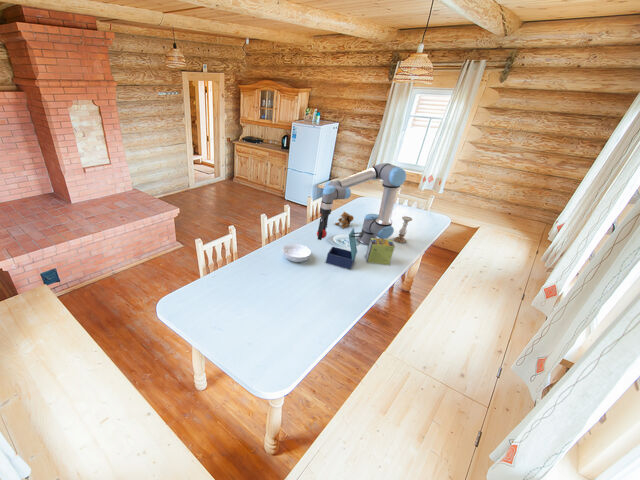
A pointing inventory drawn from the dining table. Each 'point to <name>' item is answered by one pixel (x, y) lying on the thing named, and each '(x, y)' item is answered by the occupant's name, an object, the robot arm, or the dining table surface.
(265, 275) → the dining table surface
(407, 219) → the candle holder
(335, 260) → the lunchbox
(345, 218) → the teddy bear
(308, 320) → the dining table surface
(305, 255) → the serving bowl
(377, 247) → the protein box
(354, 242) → the lid
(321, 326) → the dining table surface
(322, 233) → the apple
